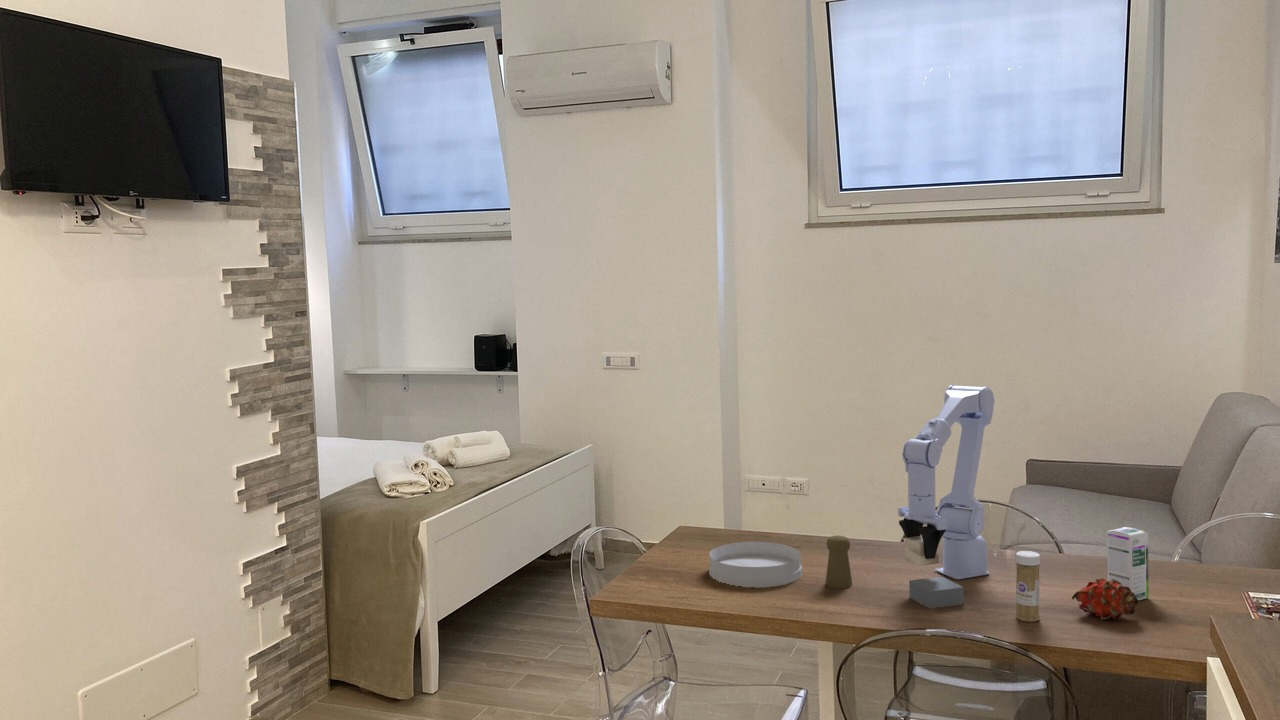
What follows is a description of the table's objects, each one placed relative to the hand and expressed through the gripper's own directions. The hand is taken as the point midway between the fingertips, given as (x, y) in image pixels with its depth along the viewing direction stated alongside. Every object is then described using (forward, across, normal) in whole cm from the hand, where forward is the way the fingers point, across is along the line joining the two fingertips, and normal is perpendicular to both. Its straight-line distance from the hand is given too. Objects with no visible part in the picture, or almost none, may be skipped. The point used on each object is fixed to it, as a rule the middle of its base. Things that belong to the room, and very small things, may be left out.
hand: (922, 555), depth 208 cm
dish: (+9, -29, -26) cm, 40 cm away
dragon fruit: (+9, +28, +23) cm, 37 cm away
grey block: (+9, +5, 0) cm, 10 cm away
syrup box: (+9, +21, +37) cm, 43 cm away
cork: (+9, -13, -13) cm, 20 cm away
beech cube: (+2, 0, 0) cm, 2 cm away
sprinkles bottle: (+9, +22, +9) cm, 25 cm away
